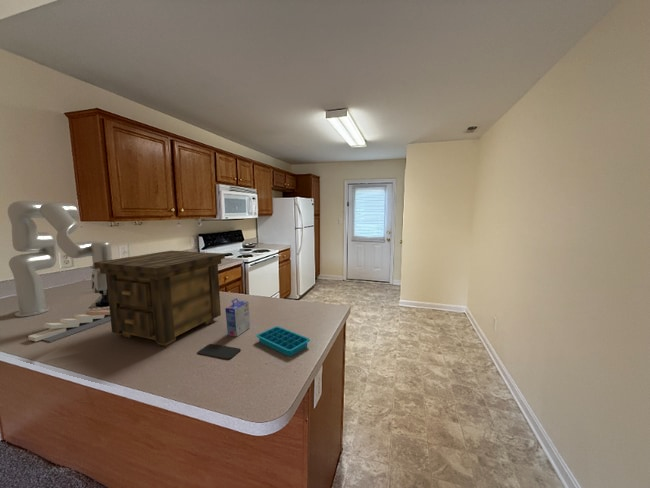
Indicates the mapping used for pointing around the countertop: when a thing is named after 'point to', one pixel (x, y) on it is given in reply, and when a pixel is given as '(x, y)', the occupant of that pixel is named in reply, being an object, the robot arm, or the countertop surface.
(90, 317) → the ivory tile
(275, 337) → the ice cube tray
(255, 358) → the countertop surface
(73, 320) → the ivory tile
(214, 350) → the phone
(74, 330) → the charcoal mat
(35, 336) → the ivory tile
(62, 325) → the ivory tile
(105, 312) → the terracotta tile
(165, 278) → the wooden nightstand
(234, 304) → the ink cartridge box
